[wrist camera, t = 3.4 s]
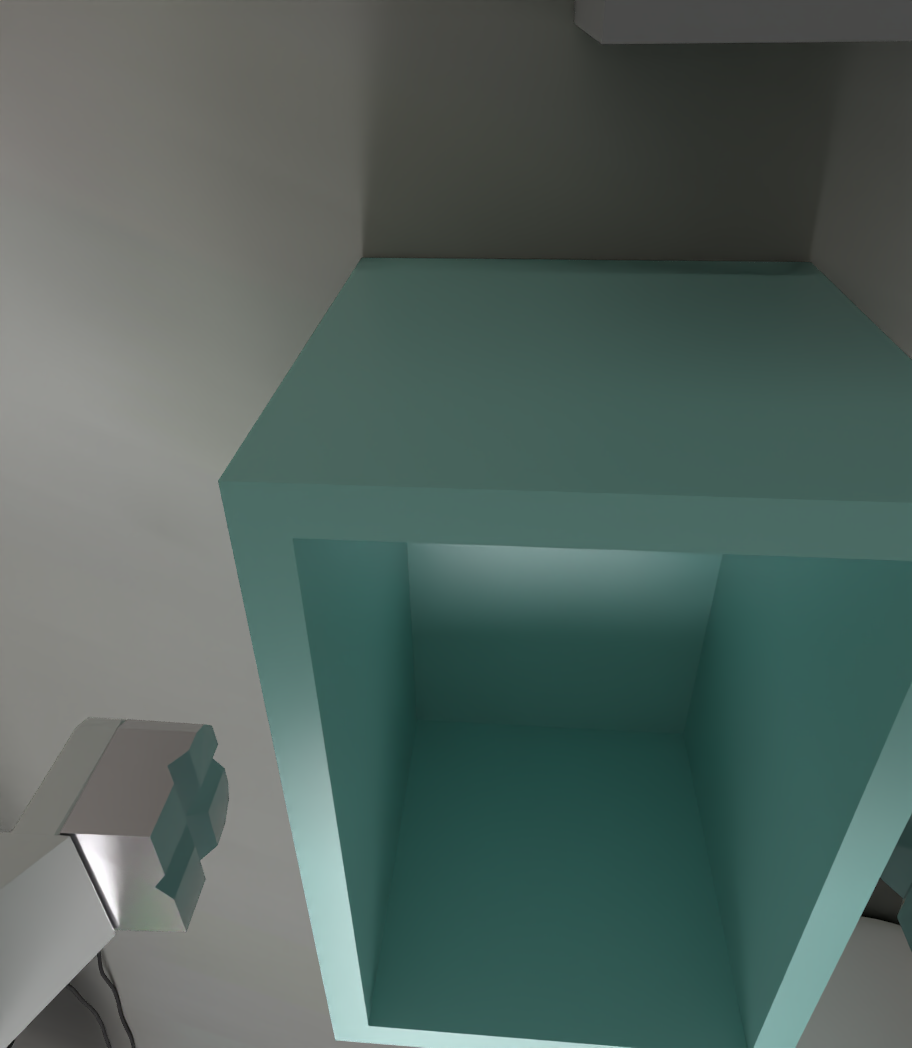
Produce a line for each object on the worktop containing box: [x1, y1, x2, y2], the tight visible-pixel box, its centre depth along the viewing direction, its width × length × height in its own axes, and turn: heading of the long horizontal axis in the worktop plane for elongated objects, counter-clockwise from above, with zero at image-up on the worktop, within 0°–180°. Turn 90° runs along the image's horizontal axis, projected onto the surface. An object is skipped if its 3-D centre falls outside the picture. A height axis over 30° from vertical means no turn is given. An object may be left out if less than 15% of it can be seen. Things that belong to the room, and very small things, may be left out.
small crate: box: [218, 258, 912, 1048], centre depth 11 cm, size 6×9×6 cm, turn 1°
